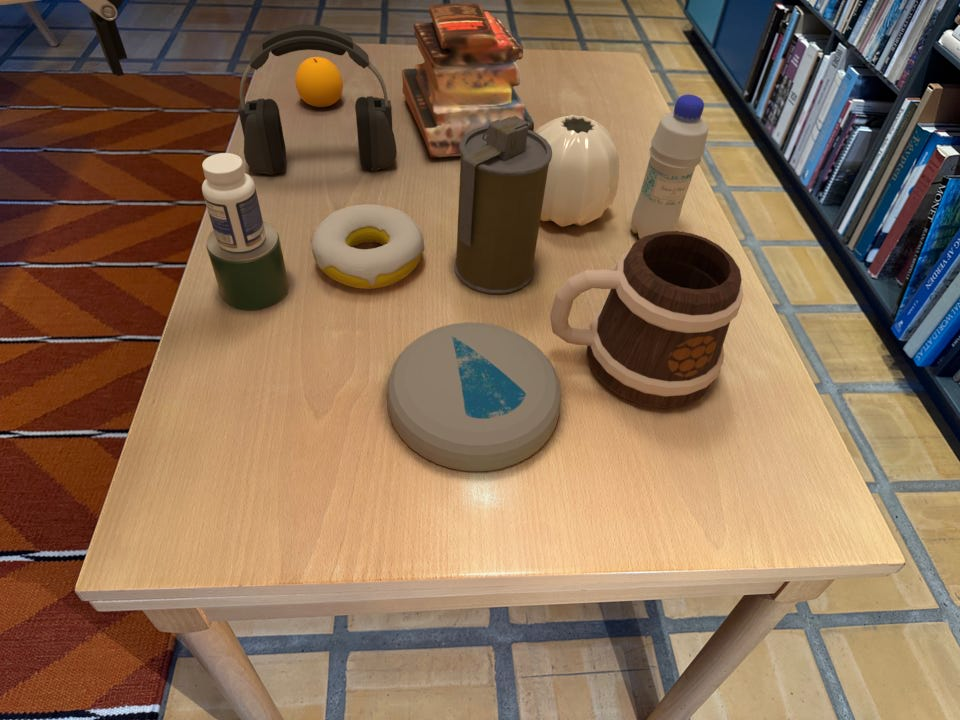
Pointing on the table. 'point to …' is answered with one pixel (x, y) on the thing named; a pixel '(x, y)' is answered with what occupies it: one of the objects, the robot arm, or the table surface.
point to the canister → (500, 205)
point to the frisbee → (473, 396)
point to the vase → (578, 170)
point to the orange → (319, 82)
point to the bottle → (670, 167)
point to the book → (462, 76)
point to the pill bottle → (232, 203)
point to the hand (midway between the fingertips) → (48, 80)
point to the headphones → (263, 115)
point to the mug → (657, 318)
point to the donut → (371, 264)
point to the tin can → (250, 272)
